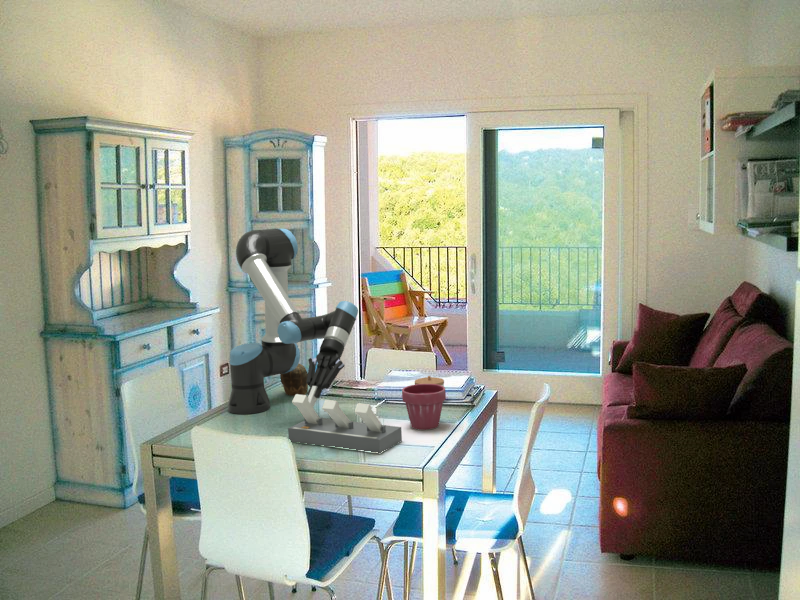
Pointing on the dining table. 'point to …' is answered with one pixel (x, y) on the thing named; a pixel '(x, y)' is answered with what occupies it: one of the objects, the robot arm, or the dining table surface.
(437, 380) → the lidded jar
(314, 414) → the lever
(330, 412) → the middle lever
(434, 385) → the plant pot
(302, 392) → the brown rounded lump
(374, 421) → the right lever
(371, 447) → the breaker panel
